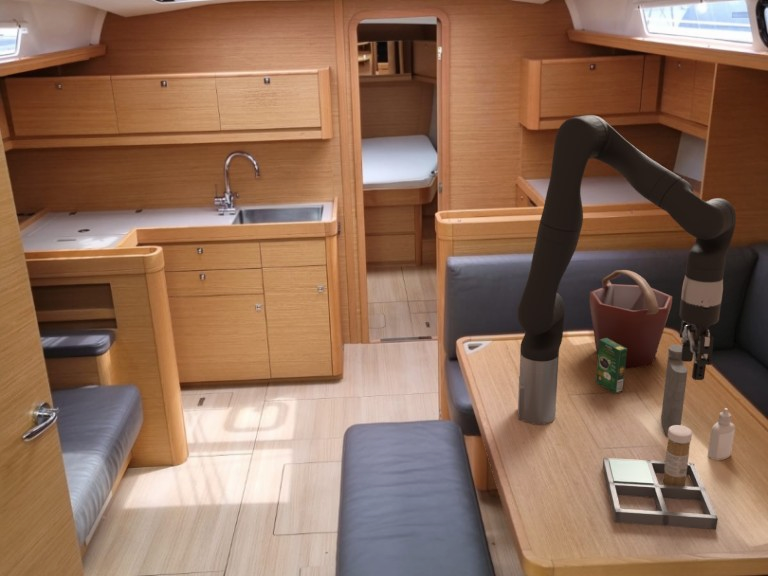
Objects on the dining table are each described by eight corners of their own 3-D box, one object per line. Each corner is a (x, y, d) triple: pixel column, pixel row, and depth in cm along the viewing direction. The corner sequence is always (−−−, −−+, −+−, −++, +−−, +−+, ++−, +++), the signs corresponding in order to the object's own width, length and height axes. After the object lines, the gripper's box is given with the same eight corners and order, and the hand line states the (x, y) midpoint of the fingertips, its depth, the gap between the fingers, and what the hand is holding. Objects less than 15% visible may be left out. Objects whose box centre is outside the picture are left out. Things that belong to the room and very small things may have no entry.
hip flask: (679, 440, 171) (689, 363, 164) (661, 437, 172) (670, 361, 165) (676, 407, 185) (685, 335, 178) (659, 405, 186) (667, 334, 179)
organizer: (614, 522, 144) (615, 510, 143) (602, 467, 161) (603, 456, 160) (716, 529, 141) (718, 517, 140) (692, 472, 159) (693, 461, 158)
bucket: (580, 339, 226) (585, 263, 218) (652, 338, 225) (660, 261, 217) (600, 374, 203) (606, 291, 195) (680, 373, 202) (690, 289, 194)
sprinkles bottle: (676, 477, 157) (683, 422, 153) (689, 489, 153) (696, 433, 148) (657, 480, 156) (664, 425, 152) (670, 492, 152) (676, 437, 148)
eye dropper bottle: (735, 460, 162) (743, 413, 158) (710, 461, 162) (717, 414, 158) (727, 450, 166) (734, 403, 162) (702, 450, 166) (709, 404, 162)
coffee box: (624, 392, 193) (628, 347, 189) (615, 395, 192) (619, 350, 188) (603, 380, 200) (606, 336, 196) (594, 382, 199) (598, 339, 194)
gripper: (673, 285, 154) (665, 354, 160) (691, 310, 141) (682, 385, 146) (710, 286, 153) (700, 355, 159) (732, 311, 140) (721, 386, 145)
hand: (691, 369), depth 152 cm, fingers open, 8 cm apart
